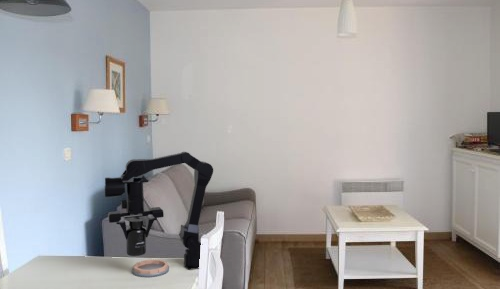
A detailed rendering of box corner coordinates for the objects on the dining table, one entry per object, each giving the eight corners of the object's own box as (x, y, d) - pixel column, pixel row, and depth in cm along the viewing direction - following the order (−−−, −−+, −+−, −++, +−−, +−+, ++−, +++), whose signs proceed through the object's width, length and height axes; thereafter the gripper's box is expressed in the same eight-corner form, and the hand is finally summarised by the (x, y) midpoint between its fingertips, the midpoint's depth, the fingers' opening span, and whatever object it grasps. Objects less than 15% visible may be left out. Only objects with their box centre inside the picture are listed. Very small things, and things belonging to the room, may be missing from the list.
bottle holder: (165, 263, 165) (165, 257, 165) (172, 274, 153) (172, 268, 153) (130, 267, 160) (130, 261, 160) (135, 279, 148) (134, 273, 148)
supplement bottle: (141, 257, 150) (140, 223, 150) (123, 256, 152) (122, 222, 151) (149, 251, 157) (148, 218, 156) (132, 250, 159) (131, 217, 158)
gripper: (157, 189, 164) (158, 230, 165) (106, 193, 157) (107, 235, 158) (163, 194, 154) (164, 237, 155) (108, 198, 147) (110, 243, 148)
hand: (136, 238), depth 154 cm, fingers closed on supplement bottle, 7 cm apart
